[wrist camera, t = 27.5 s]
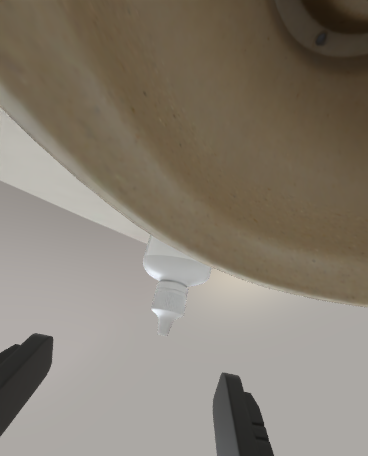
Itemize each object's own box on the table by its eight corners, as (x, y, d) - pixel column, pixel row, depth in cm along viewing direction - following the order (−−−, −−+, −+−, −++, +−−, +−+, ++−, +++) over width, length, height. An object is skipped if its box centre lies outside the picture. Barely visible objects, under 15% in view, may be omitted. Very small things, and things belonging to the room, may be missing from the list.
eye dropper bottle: (174, 176, 17) (129, 326, 10) (226, 202, 18) (215, 345, 12) (158, 201, 20) (117, 325, 14) (202, 222, 22) (184, 340, 15)
